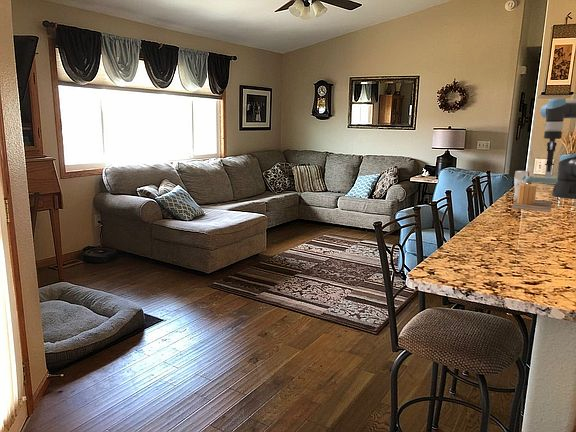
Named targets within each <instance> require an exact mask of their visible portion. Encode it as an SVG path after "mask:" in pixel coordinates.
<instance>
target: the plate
mask: <svg viewBox="0 0 576 432" xmlns="http://www.w3.org/2000/svg"><path fill="white" fill-rule="evenodd" d="M514 200H515V201H514V202H513V204H512V205H511V207H510V209H513V210H526V211H535V212H536V211H538V212H545V213H546V212H548V213H551V209H552V205H553V204H552V203H553V201H551V200H542V199H541V200H540V199H535V204H531V205H528V204H519V203H517V199H514Z"/></svg>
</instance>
